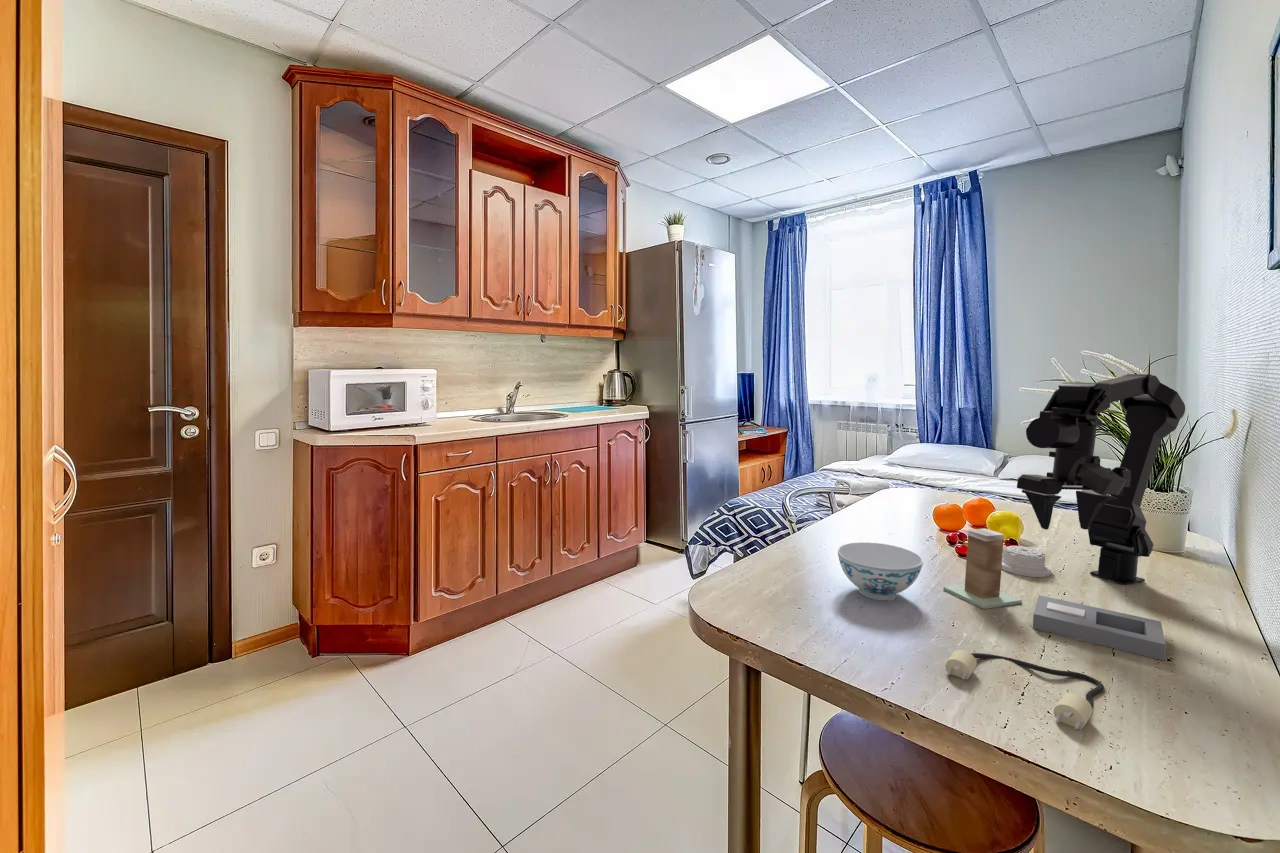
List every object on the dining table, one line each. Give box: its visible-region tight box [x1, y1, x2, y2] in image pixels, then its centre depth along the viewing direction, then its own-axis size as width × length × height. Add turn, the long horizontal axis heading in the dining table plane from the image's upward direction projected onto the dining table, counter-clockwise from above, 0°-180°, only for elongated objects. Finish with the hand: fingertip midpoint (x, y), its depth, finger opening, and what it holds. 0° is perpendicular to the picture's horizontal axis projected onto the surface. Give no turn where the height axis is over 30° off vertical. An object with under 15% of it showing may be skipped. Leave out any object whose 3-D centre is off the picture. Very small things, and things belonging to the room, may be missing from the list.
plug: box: [964, 528, 1005, 599], centre depth 104 cm, size 4×4×12 cm
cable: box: [945, 648, 1105, 730], centre depth 76 cm, size 16×16×4 cm
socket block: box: [1032, 594, 1167, 662], centre depth 90 cm, size 10×16×3 cm, turn 50°
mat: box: [942, 583, 1023, 610], centre depth 104 cm, size 9×9×1 cm
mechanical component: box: [1001, 545, 1052, 578], centre depth 119 cm, size 10×4×10 cm
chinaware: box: [837, 541, 924, 601], centre depth 106 cm, size 15×15×8 cm
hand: (1064, 529), depth 105 cm, fingers open, 9 cm apart
